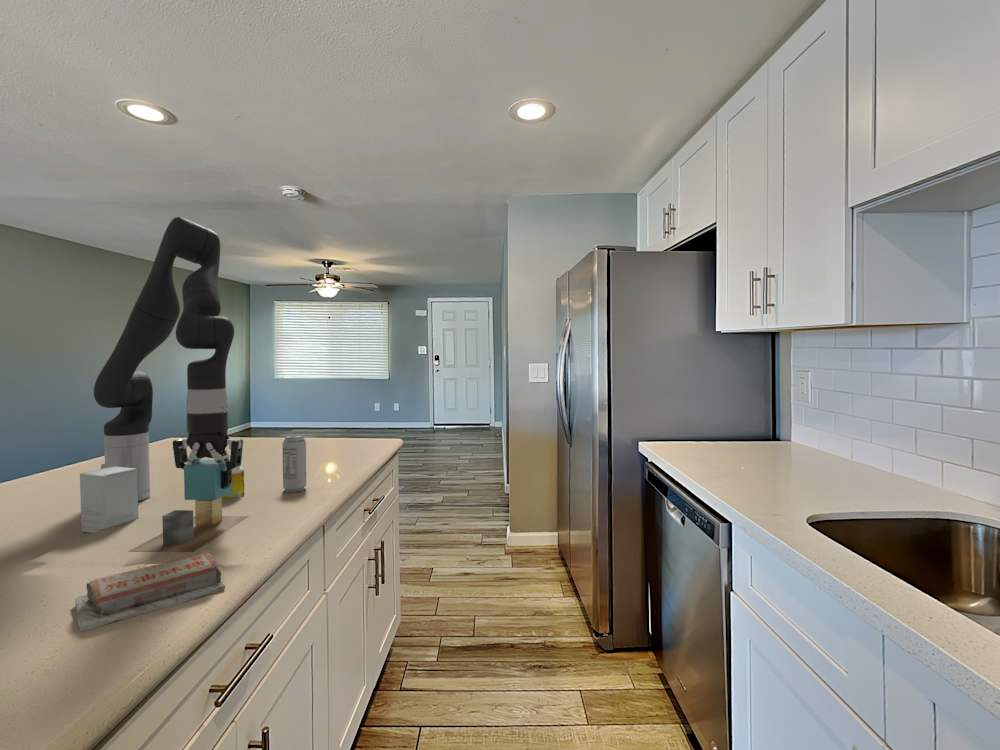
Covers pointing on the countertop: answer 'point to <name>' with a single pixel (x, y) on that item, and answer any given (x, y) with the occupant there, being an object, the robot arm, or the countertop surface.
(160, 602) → the packaged product
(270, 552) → the countertop surface
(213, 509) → the pale yellow block
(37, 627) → the countertop surface
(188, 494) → the teal block
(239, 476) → the supplement bottle
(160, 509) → the countertop surface
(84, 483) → the supplement box
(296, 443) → the energy drink can
